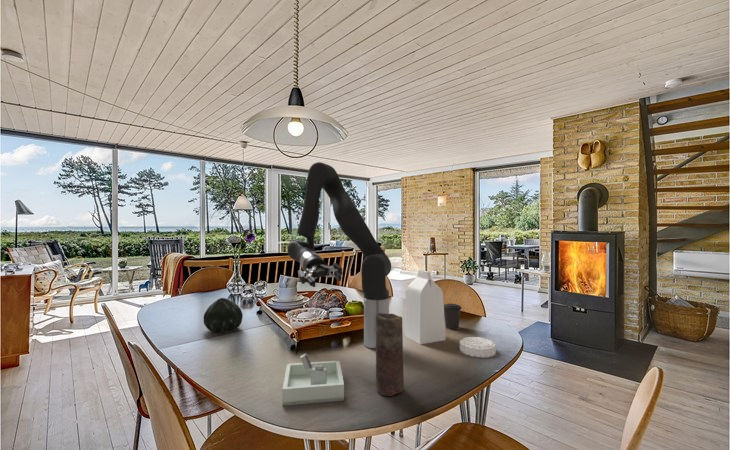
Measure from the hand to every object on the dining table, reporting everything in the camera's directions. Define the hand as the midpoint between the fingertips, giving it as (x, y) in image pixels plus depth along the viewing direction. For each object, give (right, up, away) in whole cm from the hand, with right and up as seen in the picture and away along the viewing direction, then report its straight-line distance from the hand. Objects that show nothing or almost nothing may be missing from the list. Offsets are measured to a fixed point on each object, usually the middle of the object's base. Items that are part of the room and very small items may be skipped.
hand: (327, 281), depth 106 cm
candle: (+19, -26, -18) cm, 37 cm away
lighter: (-2, -25, -17) cm, 30 cm away
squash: (-47, -26, +33) cm, 63 cm away
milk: (+35, -26, +24) cm, 50 cm away
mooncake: (+51, -26, +10) cm, 59 cm away
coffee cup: (+49, -26, +37) cm, 67 cm away
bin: (-2, -26, -17) cm, 31 cm away
